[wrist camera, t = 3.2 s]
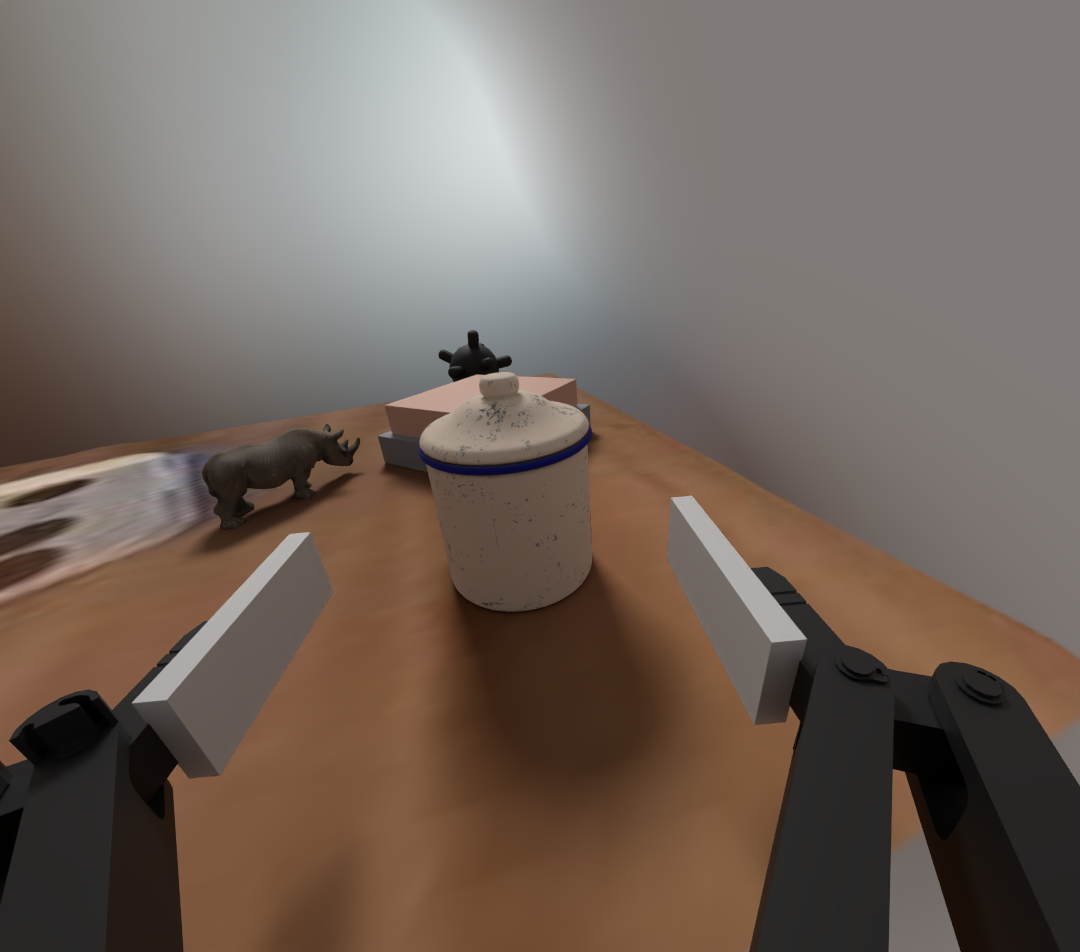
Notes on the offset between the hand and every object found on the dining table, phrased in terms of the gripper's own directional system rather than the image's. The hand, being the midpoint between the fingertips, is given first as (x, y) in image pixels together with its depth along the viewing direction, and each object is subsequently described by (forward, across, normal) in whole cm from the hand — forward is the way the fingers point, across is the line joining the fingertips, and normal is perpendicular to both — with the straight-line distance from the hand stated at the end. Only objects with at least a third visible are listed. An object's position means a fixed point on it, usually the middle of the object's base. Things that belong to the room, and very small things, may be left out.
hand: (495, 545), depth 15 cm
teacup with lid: (+9, -1, -7) cm, 12 cm away
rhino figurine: (+22, -20, -7) cm, 31 cm away
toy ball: (+52, -7, -7) cm, 53 cm away
